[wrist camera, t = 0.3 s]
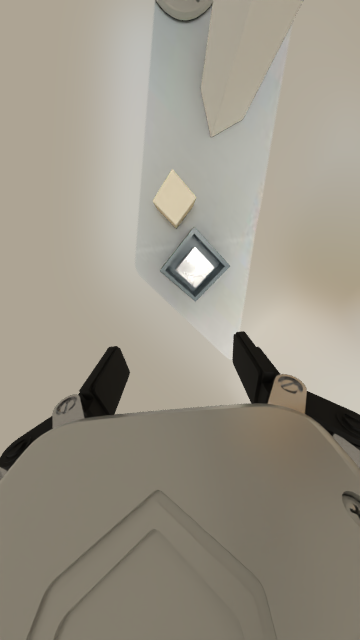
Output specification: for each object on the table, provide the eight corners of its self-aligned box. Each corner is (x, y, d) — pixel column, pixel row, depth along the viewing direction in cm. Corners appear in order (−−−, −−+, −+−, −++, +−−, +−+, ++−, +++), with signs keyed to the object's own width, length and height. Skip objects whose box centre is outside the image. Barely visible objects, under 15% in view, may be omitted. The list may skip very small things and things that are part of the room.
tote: (192, 229, 33) (194, 226, 28) (223, 263, 36) (230, 266, 31) (162, 267, 37) (159, 270, 32) (193, 294, 40) (195, 301, 35)
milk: (200, 89, 24) (297, -664, 4) (236, 65, 23) (608, -1115, 3) (210, 139, 26) (301, -173, 7) (243, 120, 25) (466, -318, 6)
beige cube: (173, 183, 29) (172, 168, 23) (193, 206, 31) (196, 197, 25) (157, 209, 31) (152, 200, 25) (176, 228, 33) (176, 225, 27)
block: (192, 246, 33) (194, 246, 29) (210, 264, 35) (214, 267, 31) (176, 266, 36) (175, 270, 31) (193, 282, 37) (195, 288, 33)
